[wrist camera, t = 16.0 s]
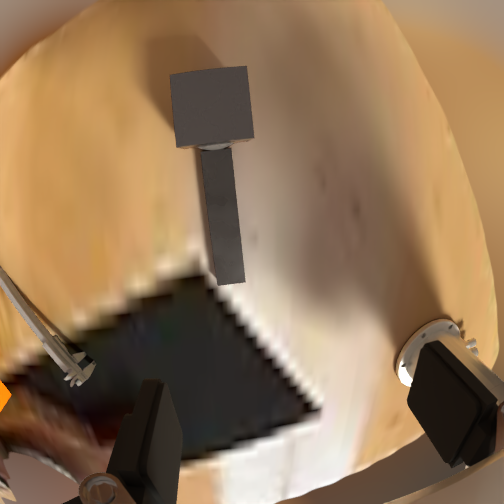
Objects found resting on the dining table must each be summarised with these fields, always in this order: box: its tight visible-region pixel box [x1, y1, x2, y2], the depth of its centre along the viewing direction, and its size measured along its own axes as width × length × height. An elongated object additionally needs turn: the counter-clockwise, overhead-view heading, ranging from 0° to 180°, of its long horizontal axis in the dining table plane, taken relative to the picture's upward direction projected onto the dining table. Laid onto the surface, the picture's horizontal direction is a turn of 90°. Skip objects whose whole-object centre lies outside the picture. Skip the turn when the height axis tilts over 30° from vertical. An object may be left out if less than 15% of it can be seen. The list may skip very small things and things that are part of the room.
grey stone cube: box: [170, 66, 254, 149], centre depth 25 cm, size 6×6×6 cm
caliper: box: [0, 266, 96, 387], centre depth 31 cm, size 20×1×6 cm, turn 41°
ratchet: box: [197, 143, 246, 286], centre depth 29 cm, size 7×21×5 cm, turn 5°
